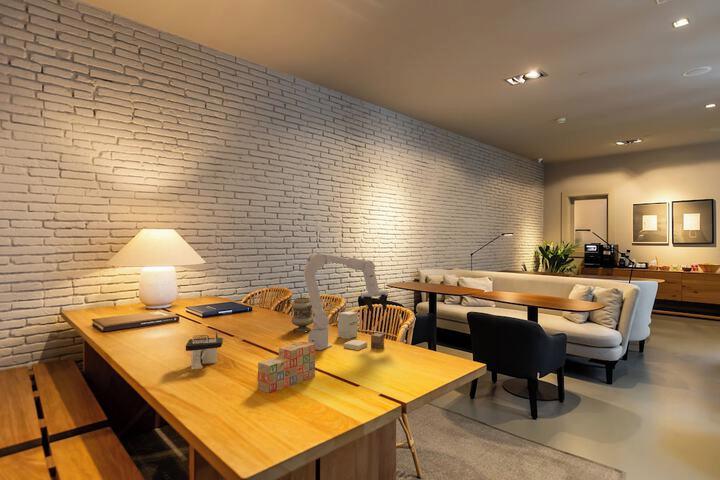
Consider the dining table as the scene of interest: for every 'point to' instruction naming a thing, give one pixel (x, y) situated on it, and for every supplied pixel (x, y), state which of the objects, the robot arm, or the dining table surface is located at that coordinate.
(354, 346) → the base slab
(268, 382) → the stack of blocks
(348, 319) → the supplement box
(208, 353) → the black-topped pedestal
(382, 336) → the walnut block
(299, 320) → the stone urn vase
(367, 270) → the robot arm
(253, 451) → the dining table surface
